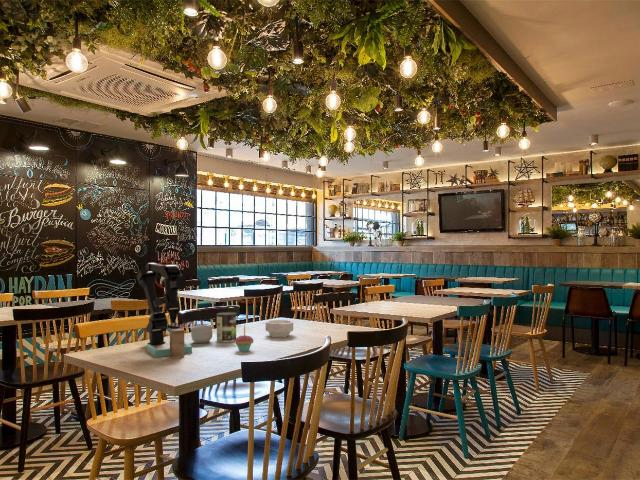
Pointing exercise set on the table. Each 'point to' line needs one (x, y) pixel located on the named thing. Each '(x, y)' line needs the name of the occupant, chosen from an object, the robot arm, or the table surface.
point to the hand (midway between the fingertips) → (173, 323)
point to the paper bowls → (279, 327)
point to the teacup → (201, 333)
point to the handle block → (176, 343)
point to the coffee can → (226, 326)
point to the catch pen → (166, 350)
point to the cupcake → (244, 342)
